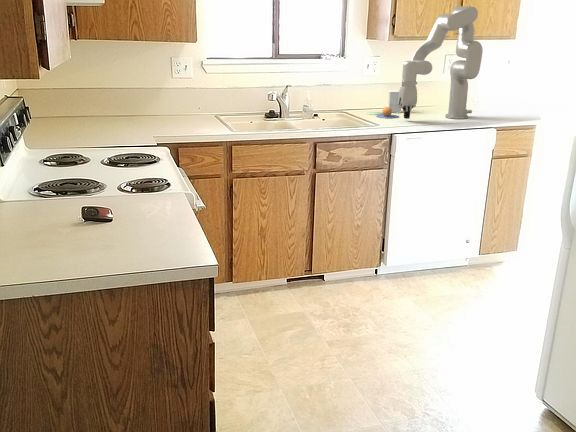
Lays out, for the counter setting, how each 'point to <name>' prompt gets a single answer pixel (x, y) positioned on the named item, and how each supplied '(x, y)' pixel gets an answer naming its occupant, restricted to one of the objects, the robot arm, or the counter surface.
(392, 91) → the supplement box
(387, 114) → the ball
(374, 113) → the green far disc
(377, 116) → the navy disc
